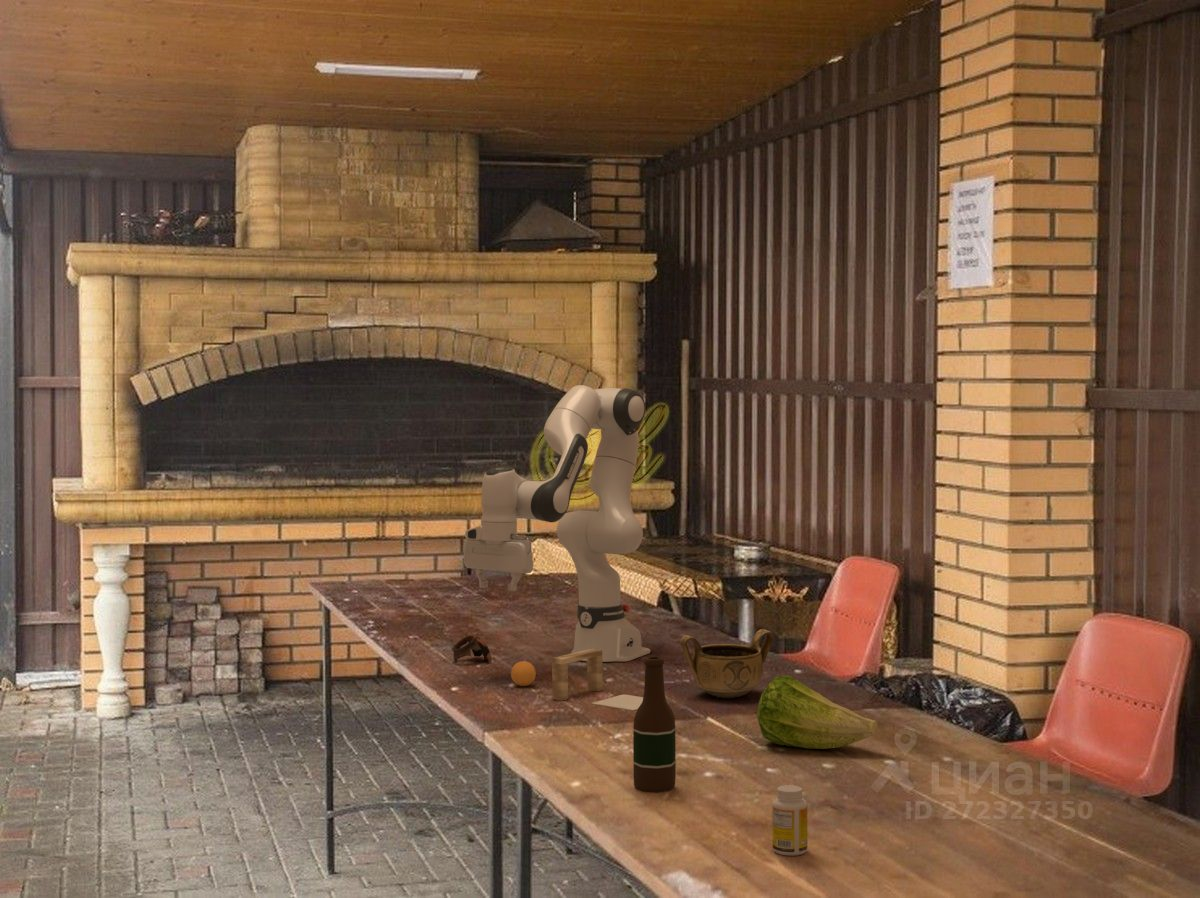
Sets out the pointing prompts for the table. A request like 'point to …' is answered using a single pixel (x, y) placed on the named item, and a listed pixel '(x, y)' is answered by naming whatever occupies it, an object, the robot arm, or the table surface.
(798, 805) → the supplement bottle
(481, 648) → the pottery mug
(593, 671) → the bridge
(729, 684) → the ceramic bowl
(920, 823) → the table surface
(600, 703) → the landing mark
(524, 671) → the ball
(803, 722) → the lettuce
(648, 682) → the beer bottle
